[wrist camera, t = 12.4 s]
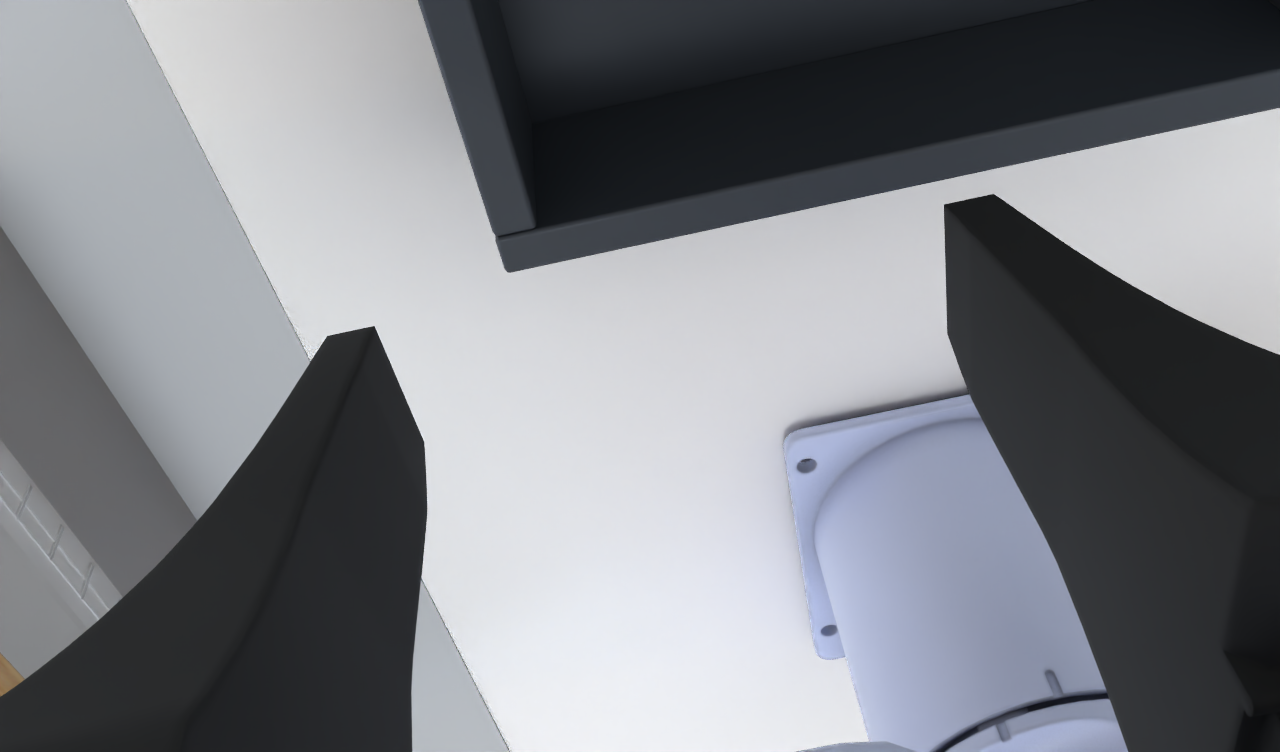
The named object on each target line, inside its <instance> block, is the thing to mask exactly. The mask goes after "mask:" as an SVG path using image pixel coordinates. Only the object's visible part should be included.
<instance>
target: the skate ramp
mask: <svg viewBox="0 0 1280 752" xmlns="http://www.w3.org/2000/svg"><path fill="white" fill-rule="evenodd" d="M309 363H310V360H309V358H308V356H307V354H306V352H305V350H304V348H303V346H302V344H301V343H300V341H299V339H298V337H297V335H296V333H295V331H294V329H293V327H292V325H291V323H290V321H289V319H288V317H287V315H286V313H285V311H284V309H283V307H282V305H281V303H280V301H279V299H278V297H277V295H276V294H275V292H274V290H273V288H272V286H271V284H270V282H269V280H268V278H267V276H266V274H265V272H264V270H263V268H262V266H261V264H260V262H259V260H258V258H257V256H256V254H255V252H254V250H253V248H252V247H251V245H250V243H249V241H248V239H247V237H246V235H245V233H244V231H243V229H242V227H241V225H240V223H239V221H238V219H237V217H236V215H235V213H234V211H233V209H232V207H231V205H230V203H229V201H228V199H227V198H226V196H225V194H224V192H223V190H222V188H221V186H220V184H219V182H218V180H217V178H216V176H215V174H214V172H213V170H212V168H211V166H210V164H209V162H208V160H207V158H206V156H205V154H204V152H203V151H202V149H201V147H200V145H199V143H198V141H197V139H196V137H195V135H194V133H193V131H192V129H191V127H190V125H189V123H188V121H187V119H186V117H185V115H184V113H183V111H182V109H181V107H180V105H179V103H178V102H177V100H176V98H175V96H174V94H173V92H172V90H171V88H170V86H169V84H168V82H167V80H166V78H165V76H164V74H163V72H162V70H161V68H160V66H159V64H158V62H157V60H156V58H155V56H154V54H153V53H152V51H151V49H150V47H149V45H148V43H147V41H146V39H145V37H144V35H143V33H142V31H141V29H140V27H139V25H138V23H137V21H136V19H135V17H134V15H133V13H132V11H131V9H130V7H129V6H128V4H127V2H126V0H0V697H1V696H2V695H4V694H5V693H7V692H8V691H9V690H11V689H12V688H14V687H15V686H17V685H18V684H19V683H21V682H22V681H23V680H25V679H26V678H27V677H29V676H30V675H31V674H33V673H34V672H35V671H37V670H38V669H39V668H41V667H42V666H43V665H44V664H46V663H47V662H48V661H50V660H51V659H52V658H53V657H55V656H56V655H57V654H58V653H60V652H61V651H62V650H64V649H65V648H66V647H67V646H69V645H70V644H71V643H72V642H73V641H75V640H76V639H77V638H78V637H79V636H80V635H82V634H83V633H84V632H85V631H86V630H88V629H89V628H90V627H91V626H92V625H94V624H95V623H96V622H97V621H98V620H99V619H100V618H102V617H103V616H104V615H105V614H106V613H107V612H108V611H109V610H110V609H111V608H112V607H113V606H114V605H116V604H117V603H118V602H119V601H120V600H121V599H122V598H123V597H124V596H125V595H126V594H127V593H128V592H129V591H130V590H131V589H132V588H134V587H135V586H136V585H137V584H138V583H139V582H140V581H141V580H142V579H143V578H144V577H145V576H146V575H147V574H148V573H149V572H150V571H152V570H153V569H154V568H155V567H156V566H157V564H158V563H159V562H160V561H161V560H162V559H163V558H164V557H165V556H166V555H167V554H168V553H169V552H170V551H171V550H172V549H173V547H174V546H175V545H176V544H177V543H178V542H179V541H180V540H181V539H182V538H183V537H184V535H185V534H186V533H187V532H188V531H189V530H190V529H191V528H192V527H193V525H194V524H195V523H196V522H197V521H198V520H199V518H200V517H201V516H202V515H203V514H204V513H205V511H206V510H207V509H208V508H209V506H210V505H211V504H212V503H213V502H214V500H215V499H216V498H217V496H218V495H219V494H220V492H221V491H222V490H223V488H224V487H225V486H226V484H227V483H228V482H229V480H230V479H231V478H232V476H233V475H234V474H235V472H236V471H237V470H238V468H239V467H240V466H241V464H242V463H243V462H244V461H245V459H246V458H247V457H248V455H249V454H250V453H251V451H252V450H253V449H254V447H255V446H256V444H257V443H258V441H259V440H260V438H261V437H262V435H263V434H264V432H265V431H266V429H267V428H268V426H269V425H270V423H271V422H272V421H273V419H274V418H275V416H276V415H277V413H278V412H279V410H280V408H281V407H282V405H283V404H284V402H285V401H286V399H287V398H288V396H289V395H290V393H291V391H292V390H293V388H294V387H295V385H296V384H297V382H298V381H299V379H300V377H301V376H302V374H303V373H304V371H305V370H306V368H307V367H308V365H309ZM411 696H412V752H509V750H508V748H507V746H506V744H505V742H504V740H503V738H502V736H501V734H500V732H499V730H498V728H497V727H496V725H495V723H494V721H493V719H492V717H491V715H490V713H489V711H488V709H487V707H486V705H485V703H484V701H483V699H482V697H481V695H480V693H479V691H478V689H477V687H476V685H475V683H474V681H473V680H472V678H471V676H470V674H469V672H468V670H467V668H466V666H465V664H464V662H463V660H462V658H461V656H460V654H459V652H458V650H457V648H456V646H455V644H454V642H453V640H452V638H451V636H450V634H449V632H448V631H447V629H446V627H445V625H444V623H443V621H442V619H441V617H440V615H439V613H438V611H437V609H436V607H435V605H434V603H433V601H432V599H431V597H430V595H429V593H428V591H427V589H426V587H425V585H424V583H423V582H422V580H421V585H420V595H419V604H418V614H417V624H416V634H415V644H414V654H413V670H412V690H411Z"/></svg>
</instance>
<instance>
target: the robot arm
mask: <svg viewBox="0 0 1280 752" xmlns="http://www.w3.org/2000/svg"><path fill="white" fill-rule="evenodd" d="M944 223H945V260H946V297H947V334H948V336H949V339H950V342H951V345H952V348H953V351H954V353H955V356H956V359H957V362H958V365H959V367H960V370H961V373H962V376H963V378H964V381H965V383H966V386H967V389H968V391H969V395H964V396H959V397H954V398H949V399H944V400H940V401H935V402H930V403H925V404H920V405H915V406H910V407H905V408H901V409H896V410H891V411H886V412H881V413H876V414H871V415H866V416H862V417H857V418H852V419H847V420H842V421H837V422H832V423H828V424H823V425H818V426H813V427H808V428H803V429H799V430H796V431H794V432H792V433H791V434H789V435H788V436H787V437H786V439H785V440H784V444H783V449H784V455H785V462H786V468H787V475H788V481H789V488H790V494H791V500H792V507H793V513H794V520H795V526H796V533H797V539H798V546H799V552H800V558H801V565H802V571H803V578H804V584H805V591H806V597H807V604H808V610H809V616H810V623H811V629H812V636H813V642H814V647H815V651H816V654H817V655H818V656H819V657H820V658H822V659H827V660H831V659H838V658H843V657H846V660H847V663H848V667H849V671H850V674H851V678H852V681H853V685H854V689H855V692H856V696H857V699H858V703H859V706H860V710H861V714H862V717H863V721H864V724H865V728H866V732H867V735H868V739H869V742H855V743H839V744H834V745H828V746H823V747H818V748H813V749H807V750H802V751H797V752H1280V355H1278V354H1275V353H1273V352H1270V351H1268V350H1265V349H1262V348H1260V347H1257V346H1255V345H1252V344H1250V343H1247V342H1245V341H1243V340H1240V339H1238V338H1236V337H1234V336H1231V335H1229V334H1227V333H1225V332H1222V331H1220V330H1218V329H1216V328H1213V327H1211V326H1209V325H1207V324H1204V323H1202V322H1200V321H1198V320H1196V319H1194V318H1192V317H1190V316H1188V315H1186V314H1184V313H1182V312H1180V311H1178V310H1176V309H1174V308H1172V307H1170V306H1168V305H1166V304H1165V303H1163V302H1161V301H1159V300H1157V299H1155V298H1154V297H1152V296H1150V295H1148V294H1146V293H1144V292H1143V291H1141V290H1139V289H1137V288H1135V287H1134V286H1132V285H1130V284H1129V283H1127V282H1125V281H1123V280H1122V279H1120V278H1118V277H1117V276H1115V275H1113V274H1112V273H1110V272H1108V271H1107V270H1105V269H1104V268H1102V267H1100V266H1099V265H1097V264H1096V263H1094V262H1093V261H1091V260H1089V259H1088V258H1086V257H1085V256H1083V255H1082V254H1080V253H1079V252H1077V251H1076V250H1074V249H1073V248H1071V247H1070V246H1068V245H1067V244H1065V243H1064V242H1062V241H1061V240H1059V239H1058V238H1056V237H1055V236H1053V235H1052V234H1050V233H1049V232H1047V231H1046V230H1045V229H1043V228H1042V227H1040V226H1039V225H1037V224H1036V223H1035V222H1033V221H1032V220H1030V219H1029V218H1027V217H1026V216H1025V215H1023V214H1022V213H1020V212H1019V211H1017V210H1016V209H1015V208H1013V207H1012V206H1010V205H1009V204H1007V203H1006V202H1005V201H1003V200H1002V199H1000V198H999V197H997V196H996V195H994V194H992V195H987V196H982V197H978V198H973V199H968V200H964V201H959V202H954V203H950V204H945V205H944ZM804 459H811V460H810V461H807V462H800V461H801V460H804ZM426 520H427V487H426V466H425V448H424V441H423V438H422V436H421V434H420V431H419V429H418V427H417V424H416V422H415V420H414V417H413V415H412V413H411V410H410V408H409V406H408V403H407V401H406V399H405V396H404V394H403V392H402V389H401V387H400V385H399V382H398V380H397V378H396V375H395V373H394V371H393V368H392V366H391V364H390V361H389V359H388V357H387V354H386V352H385V350H384V347H383V345H382V343H381V340H380V338H379V336H378V333H377V331H376V329H375V326H373V327H368V328H363V329H359V330H354V331H349V332H344V333H340V334H335V335H330V336H327V338H326V339H325V341H324V342H323V344H322V345H321V347H320V348H319V350H318V351H317V353H316V354H315V356H314V357H313V359H312V360H311V362H310V363H309V365H308V367H307V368H306V370H305V371H304V373H303V374H302V376H301V377H300V379H299V381H298V382H297V384H296V385H295V387H294V388H293V390H292V391H291V393H290V395H289V396H288V398H287V399H286V401H285V402H284V404H283V405H282V407H281V408H280V410H279V412H278V413H277V415H276V416H275V418H274V419H273V421H272V422H271V423H270V425H269V426H268V428H267V429H266V431H265V432H264V434H263V435H262V437H261V438H260V440H259V441H258V443H257V444H256V446H255V447H254V449H253V450H252V451H251V453H250V454H249V455H248V457H247V458H246V459H245V461H244V462H243V463H242V464H241V466H240V467H239V468H238V470H237V471H236V472H235V474H234V475H233V476H232V478H231V479H230V480H229V482H228V483H227V484H226V486H225V487H224V488H223V490H222V491H221V492H220V494H219V495H218V496H217V498H216V499H215V500H214V502H213V503H212V504H211V505H210V506H209V508H208V509H207V510H206V511H205V513H204V514H203V515H202V516H201V517H200V518H199V520H198V521H197V522H196V523H195V524H194V525H193V527H192V528H191V529H190V530H189V531H188V532H187V533H186V534H185V535H184V537H183V538H182V539H181V540H180V541H179V542H178V543H177V544H176V545H175V546H174V547H173V549H172V550H171V551H170V552H169V553H168V554H167V555H166V556H165V557H164V558H163V559H162V560H161V561H160V562H159V563H158V564H157V566H156V567H155V568H154V569H153V570H152V571H150V572H149V573H148V574H147V575H146V576H145V577H144V578H143V579H142V580H141V581H140V582H139V583H138V584H137V585H136V586H135V587H134V588H132V589H131V590H130V591H129V592H128V593H127V594H126V595H125V596H124V597H123V598H122V599H121V600H120V601H119V602H118V603H117V604H116V605H114V606H113V607H112V608H111V609H110V610H109V611H108V612H107V613H106V614H105V615H104V616H103V617H102V618H100V619H99V620H98V621H97V622H96V623H95V624H94V625H92V626H91V627H90V628H89V629H88V630H86V631H85V632H84V633H83V634H82V635H80V636H79V637H78V638H77V639H76V640H75V641H73V642H72V643H71V644H70V645H69V646H67V647H66V648H65V649H64V650H62V651H61V652H60V653H58V654H57V655H56V656H55V657H53V658H52V659H51V660H50V661H48V662H47V663H46V664H44V665H43V666H42V667H41V668H39V669H38V670H37V671H35V672H34V673H33V674H31V675H30V676H29V677H27V678H26V679H25V680H23V681H22V682H21V683H19V684H18V685H17V686H15V687H14V688H12V689H11V690H9V691H8V692H7V693H5V694H4V695H2V696H1V697H0V752H412V696H411V690H412V670H413V654H414V644H415V634H416V624H417V614H418V604H419V595H420V585H421V575H422V565H423V554H424V543H425V532H426Z"/></svg>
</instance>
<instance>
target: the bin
mask: <svg viewBox="0 0 1280 752" xmlns="http://www.w3.org/2000/svg"><path fill="white" fill-rule="evenodd" d="M418 3H419V6H420V9H421V12H422V15H423V18H424V21H425V24H426V27H427V30H428V33H429V36H430V40H431V43H432V46H433V49H434V52H435V55H436V58H437V61H438V64H439V67H440V70H441V74H442V77H443V80H444V83H445V86H446V89H447V92H448V95H449V98H450V101H451V104H452V107H453V111H454V114H455V117H456V120H457V123H458V126H459V129H460V132H461V135H462V138H463V141H464V144H465V148H466V151H467V154H468V157H469V160H470V163H471V166H472V169H473V172H474V175H475V178H476V181H477V185H478V188H479V191H480V194H481V197H482V200H483V203H484V206H485V209H486V212H487V215H488V219H489V222H490V225H491V228H492V231H493V233H494V234H495V235H496V243H497V247H498V250H499V253H500V256H501V259H502V262H503V265H504V268H505V270H506V271H507V272H515V271H520V270H524V269H529V268H534V267H538V266H543V265H548V264H552V263H557V262H562V261H566V260H571V259H576V258H580V257H585V256H590V255H594V254H599V253H604V252H608V251H613V250H618V249H622V248H627V247H632V246H636V245H641V244H646V243H650V242H655V241H660V240H664V239H669V238H674V237H678V236H683V235H688V234H692V233H697V232H702V231H706V230H711V229H716V228H720V227H725V226H730V225H734V224H739V223H744V222H748V221H753V220H758V219H762V218H767V217H772V216H776V215H781V214H786V213H790V212H795V211H800V210H804V209H809V208H814V207H818V206H823V205H828V204H832V203H837V202H842V201H846V200H851V199H856V198H860V197H865V196H870V195H874V194H879V193H884V192H888V191H893V190H898V189H902V188H907V187H912V186H916V185H921V184H926V183H930V182H935V181H940V180H944V179H949V178H954V177H958V176H963V175H968V174H972V173H977V172H982V171H986V170H991V169H996V168H1000V167H1005V166H1010V165H1014V164H1019V163H1024V162H1028V161H1033V160H1038V159H1042V158H1047V157H1052V156H1056V155H1061V154H1066V153H1070V152H1075V151H1080V150H1084V149H1089V148H1094V147H1098V146H1103V145H1108V144H1112V143H1117V142H1122V141H1126V140H1131V139H1136V138H1140V137H1145V136H1150V135H1155V134H1159V133H1164V132H1169V131H1173V130H1178V129H1183V128H1187V127H1192V126H1197V125H1201V124H1206V123H1211V122H1215V121H1220V120H1225V119H1229V118H1234V117H1239V116H1243V115H1248V114H1253V113H1257V112H1262V111H1267V110H1271V109H1276V108H1280V0H418Z"/></svg>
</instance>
